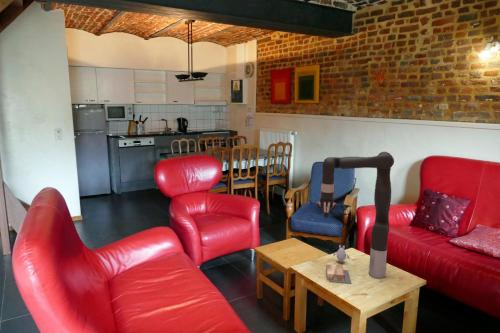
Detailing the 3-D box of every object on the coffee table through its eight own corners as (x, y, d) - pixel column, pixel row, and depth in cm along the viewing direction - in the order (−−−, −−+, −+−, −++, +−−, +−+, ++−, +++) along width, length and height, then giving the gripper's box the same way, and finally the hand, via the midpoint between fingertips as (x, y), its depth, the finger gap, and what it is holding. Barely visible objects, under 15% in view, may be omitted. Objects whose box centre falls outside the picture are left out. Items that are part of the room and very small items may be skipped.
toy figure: (349, 262, 234) (351, 245, 232) (348, 266, 229) (349, 248, 226) (333, 258, 239) (334, 242, 236) (331, 262, 233) (332, 245, 231)
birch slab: (325, 269, 222) (342, 271, 221) (327, 279, 211) (344, 280, 209) (326, 264, 222) (342, 265, 220) (327, 273, 210) (344, 275, 209)
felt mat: (348, 270, 222) (348, 270, 222) (351, 283, 207) (351, 283, 207) (327, 269, 224) (327, 268, 224) (329, 282, 209) (329, 281, 209)
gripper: (337, 189, 219) (336, 216, 223) (316, 188, 221) (314, 215, 225) (339, 192, 212) (337, 220, 216) (316, 191, 214) (315, 219, 217)
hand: (325, 217), depth 220 cm, fingers closed
